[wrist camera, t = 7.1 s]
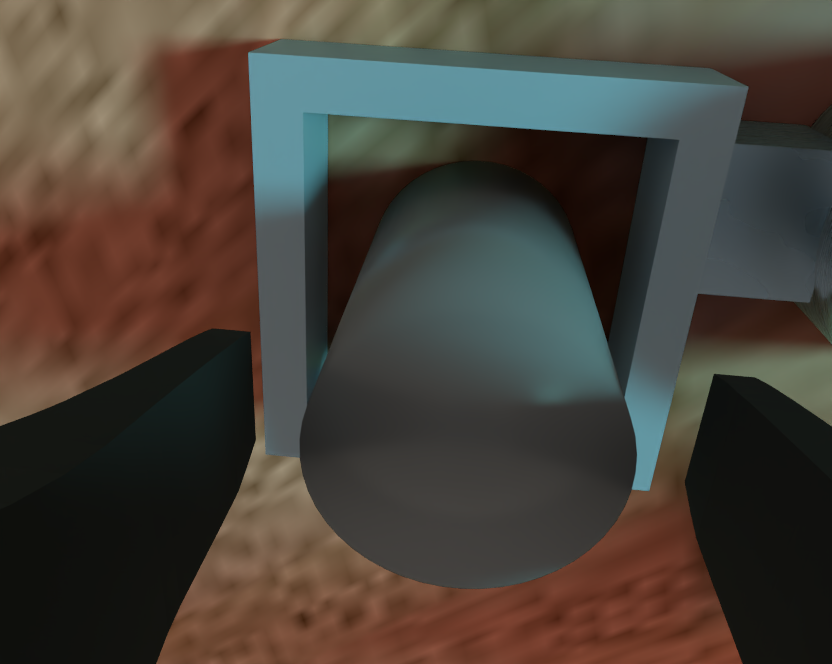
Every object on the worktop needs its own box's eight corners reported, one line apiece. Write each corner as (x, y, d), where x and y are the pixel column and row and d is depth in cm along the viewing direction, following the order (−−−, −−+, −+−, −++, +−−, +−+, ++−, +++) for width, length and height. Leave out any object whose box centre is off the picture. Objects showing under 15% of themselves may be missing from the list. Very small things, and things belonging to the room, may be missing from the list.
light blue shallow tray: (710, 68, 15) (749, 87, 13) (630, 430, 20) (649, 490, 17) (280, 38, 16) (248, 52, 14) (290, 398, 20) (265, 454, 18)
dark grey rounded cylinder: (585, 162, 17) (659, 318, 9) (561, 411, 19) (604, 673, 12) (370, 158, 17) (286, 306, 10) (377, 403, 20) (317, 654, 13)
